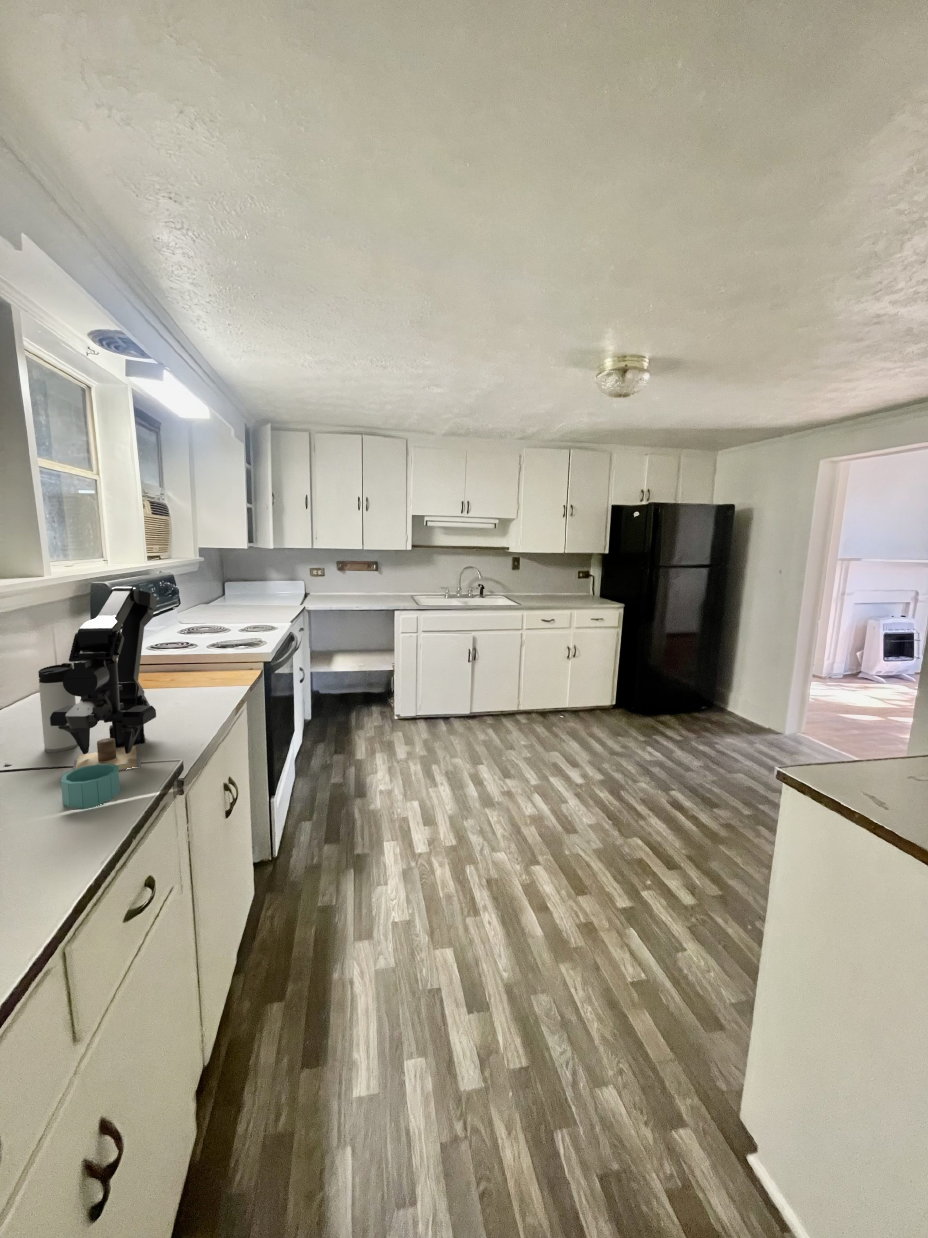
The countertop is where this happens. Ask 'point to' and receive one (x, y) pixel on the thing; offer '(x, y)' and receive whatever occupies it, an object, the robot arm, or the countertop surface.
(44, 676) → the travel mug
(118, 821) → the countertop surface
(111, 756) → the lid
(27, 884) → the countertop surface
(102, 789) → the bowl
